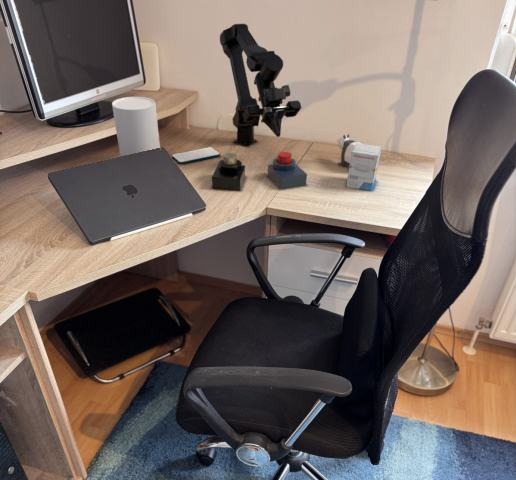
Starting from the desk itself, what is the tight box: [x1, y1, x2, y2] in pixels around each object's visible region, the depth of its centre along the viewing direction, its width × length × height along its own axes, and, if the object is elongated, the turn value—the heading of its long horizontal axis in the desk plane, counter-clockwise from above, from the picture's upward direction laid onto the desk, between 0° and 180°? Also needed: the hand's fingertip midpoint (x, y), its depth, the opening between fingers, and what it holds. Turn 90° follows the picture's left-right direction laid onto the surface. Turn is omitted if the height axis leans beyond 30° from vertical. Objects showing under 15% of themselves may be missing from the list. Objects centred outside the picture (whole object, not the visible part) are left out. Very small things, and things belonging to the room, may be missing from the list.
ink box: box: [345, 142, 382, 192], centre depth 161 cm, size 8×8×12 cm
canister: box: [111, 96, 161, 157], centre depth 165 cm, size 14×14×20 cm
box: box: [267, 157, 308, 190], centre depth 164 cm, size 12×9×6 cm
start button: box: [277, 151, 292, 165], centre depth 163 cm, size 4×4×3 cm
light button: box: [222, 152, 238, 166], centre depth 161 cm, size 4×4×3 cm
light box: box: [211, 159, 246, 192], centre depth 161 cm, size 12×9×6 cm
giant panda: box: [336, 134, 363, 167], centre depth 173 cm, size 15×6×10 cm, turn 29°
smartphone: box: [171, 146, 221, 165], centre depth 178 cm, size 8×1×16 cm
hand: (278, 136), depth 163 cm, fingers closed
